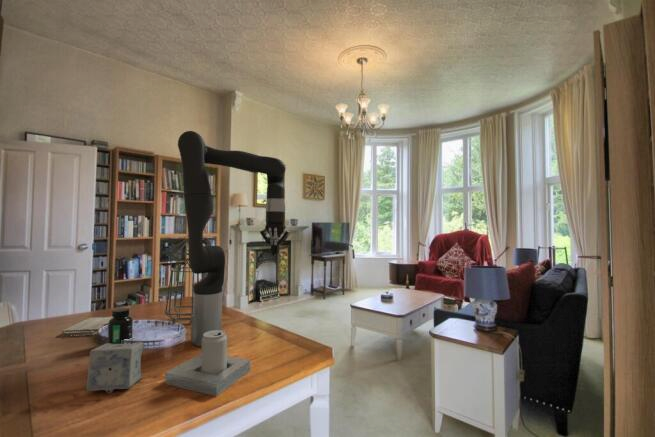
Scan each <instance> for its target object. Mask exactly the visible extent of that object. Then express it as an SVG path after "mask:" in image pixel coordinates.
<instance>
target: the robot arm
mask: <svg viewBox="0 0 655 437" xmlns="http://www.w3.org/2000/svg"><path fill="white" fill-rule="evenodd" d="M177 147H178V150H179V154H180V159H181V163H182V164H181V165H182V170H183V171H182V176H183V179H182V184H183V198H184V207H185V214H186V216H185V217H186V223H187V236H188V237H187V238H188V248H187V250H188V251H187V253H189V255H188V258H189V261H188V263H189V264H190V268H189V269H190V271H192V272H191V273H192V274H193V273H194V275H197V274H199V275H200V274H201V275H202V273H203V274H204V273H205V274H207V275H205V278H204V277H203V280H202V279H201V280H200V281H199V282H198V283H197V282H196V283H194V295H193V306H194V307H193V313H194V314H192V315H191V316H190V318H191V320H190V323H191V324H190V343H192V344H193V345H194V346H198V347H202V338H203V334H204V333H206V332H208V331H213V330H222V327H223V326H222V323H223V322H222V321H223V320H222V319H223V317H222V316H223V286H224V282H225V270H226V268H225V267H226V254H225V252H224V248H223V247H221V246H220V245H204V243H203V242H204V240H203V237H204V236H203V235H204V230H205V228H206V226H207V224H208V222H209V220H210V218H211V216H212V215H213V210H214V202H213V196H212V194H213V193H212V190H211V185H210V182H209V178H208V174H207V170H206V166H205V164H206V165H216V166H222V167H223V166H224V167H227V168H228V167H229V168H232V169H237V170H241V171H246V172H249V173H252V174H253V173H255V174H257V173H261V174H263V175H266V182H267V185H266V203H265V226H264V229H263V230H260V231H259V234H260V235H261V236H262V238H263V239H264V241H265V243H266V244H269V245H270V253H271V255H272V256H277V255H278V254H280V245H282V244H283V245H284V243H285V242H286V241H287V239H288V238H289V236H290V235H291V230H288V229H287V227H286V225H285V224H286V202H285V198H286V195H285V191H286V190H285V185H284V184H285V181H284V180H285V172H286V167H287V166H286V164H285V162H283V161H282V160H281V159H280V158H276V157H273V156H272V157H271V156H264V155H258V154H255V153H251V152H246V151H244V150H243V151H242V150H225V149H224V150H222V149H217V148H214V147H211V146H208V145H206V142H205V140H204V139H203V137H202V135H201V134H200V133H198V132H196V131H193V130H187V131H183V133H181V134H180V136H179V137H178V140H177ZM203 245H204V246H203Z"/></svg>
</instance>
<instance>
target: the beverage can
mask: <svg viewBox="0 0 655 437" xmlns="http://www.w3.org/2000/svg"><path fill="white" fill-rule="evenodd" d="M201 353H202V363H201V373H206V374H210V375H215V376H217V375H218V374H220V373H221V372H223V371H224V370H226V369H227V356H228V337H227V335H226V331H225V330H213V331H208V332H206V333H204V334H203V338H202V346H201Z"/></svg>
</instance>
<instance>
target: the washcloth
mask: <svg viewBox="0 0 655 437" xmlns="http://www.w3.org/2000/svg"><path fill="white" fill-rule="evenodd" d="M112 318H113V317H112V316H107V317H106V316H105V317H98V316H97V317H89V318H87V319H85V320H82V321H80V322H78V323H76V324H73V325H72V326H70V327H67V328H65V329H63V330H62V331H61V333H62V335H61V337H62V336H63V337H67V336H71V335H72V336H74V335H75V337H77V336H76V335H82V336H81V337H84V336H83V335H93V336H95V334H96V335H98V334H97V332H98V330H99V329H100V328H102V327H103V326H105V325H108V322H109V320H110V319H112Z"/></svg>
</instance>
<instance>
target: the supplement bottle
mask: <svg viewBox="0 0 655 437" xmlns="http://www.w3.org/2000/svg"><path fill="white" fill-rule="evenodd" d="M111 317H113V318H112V319H110V320H109V322H108V328H107V343H111V344H121V340H124V339H130V338H132V339H133V328H134V327H133V320H134V319H133V317H132V316H131V315H130V308H129V307H121V308H120V307H119V308H115V309H113V310H112V311H111Z"/></svg>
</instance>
